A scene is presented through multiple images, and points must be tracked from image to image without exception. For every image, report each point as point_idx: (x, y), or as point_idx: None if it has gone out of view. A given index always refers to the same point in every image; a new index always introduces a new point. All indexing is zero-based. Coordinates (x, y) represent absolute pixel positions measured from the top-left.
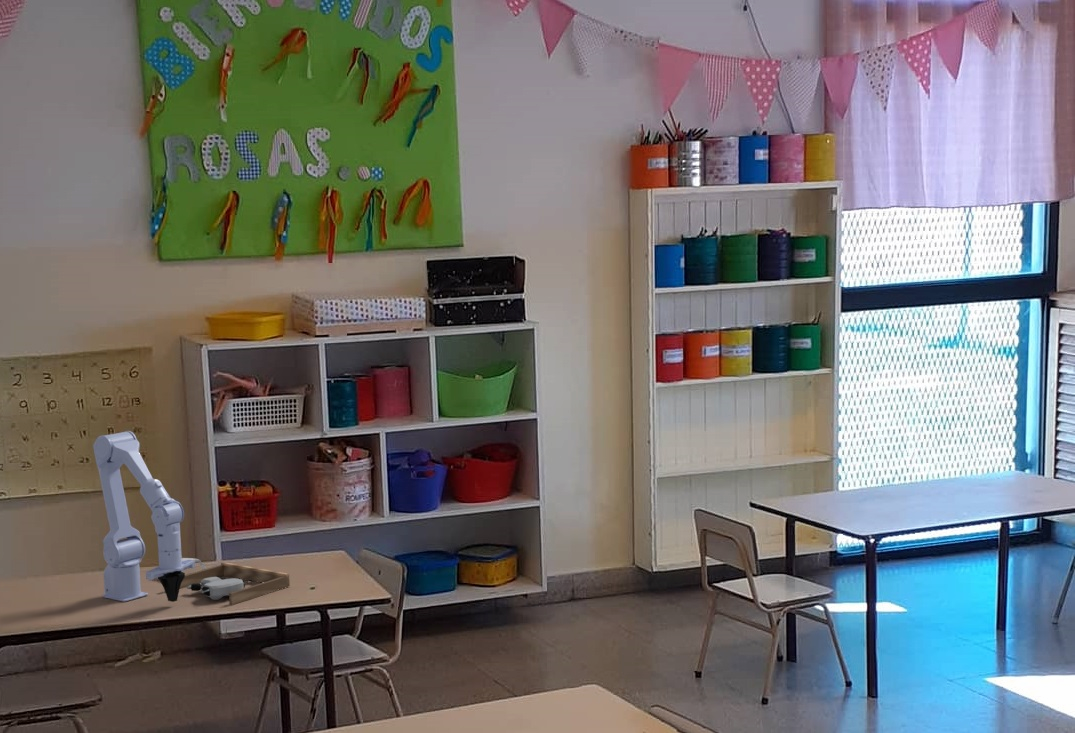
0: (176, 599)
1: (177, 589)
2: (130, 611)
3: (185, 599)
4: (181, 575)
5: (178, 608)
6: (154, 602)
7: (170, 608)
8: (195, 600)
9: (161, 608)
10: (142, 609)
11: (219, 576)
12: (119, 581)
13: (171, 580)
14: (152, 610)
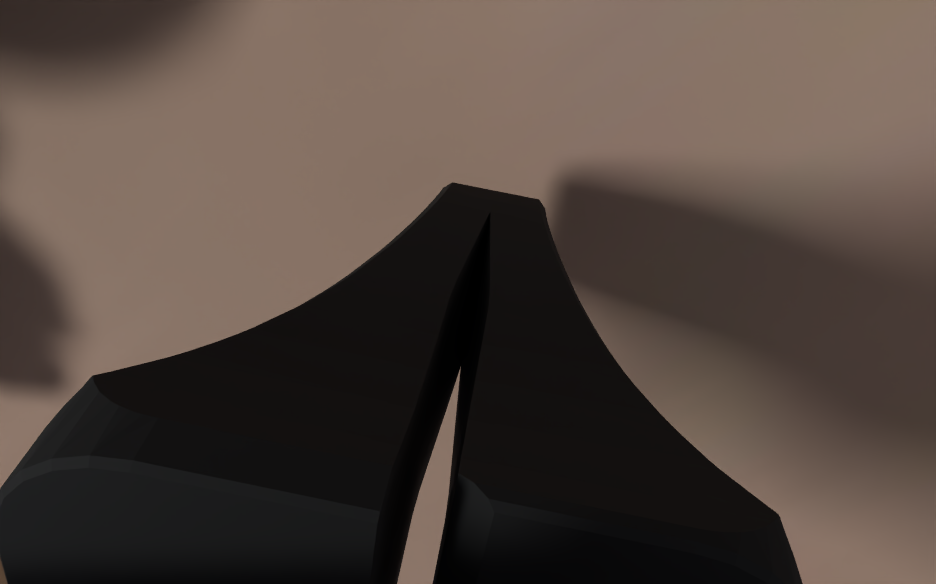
0: (464, 193)
1: (426, 278)
2: (902, 550)
3: (127, 240)
4: (258, 449)
5: (585, 18)
6: (442, 503)
7: (627, 155)
8: (65, 57)
9: (668, 285)
10: (780, 477)
11: None
12: None
13: (733, 503)
14: (805, 342)
